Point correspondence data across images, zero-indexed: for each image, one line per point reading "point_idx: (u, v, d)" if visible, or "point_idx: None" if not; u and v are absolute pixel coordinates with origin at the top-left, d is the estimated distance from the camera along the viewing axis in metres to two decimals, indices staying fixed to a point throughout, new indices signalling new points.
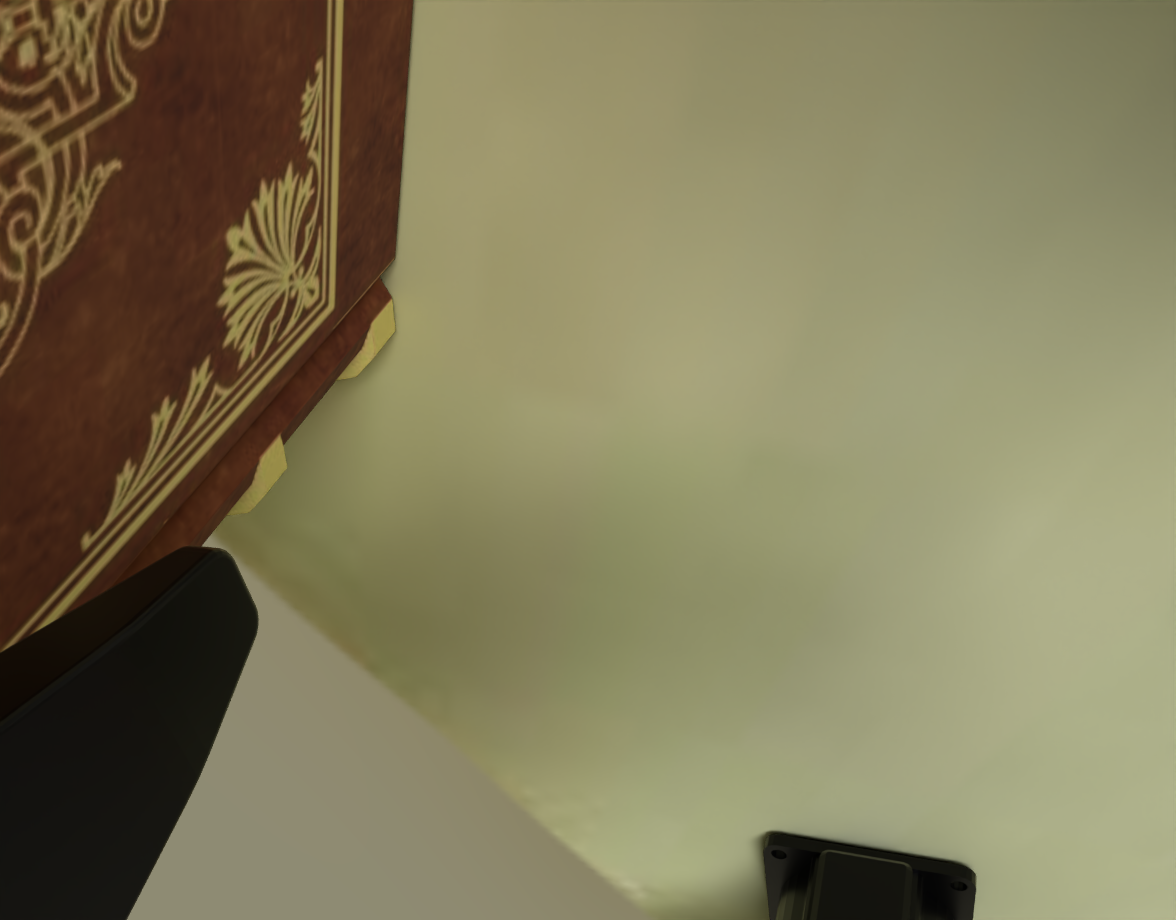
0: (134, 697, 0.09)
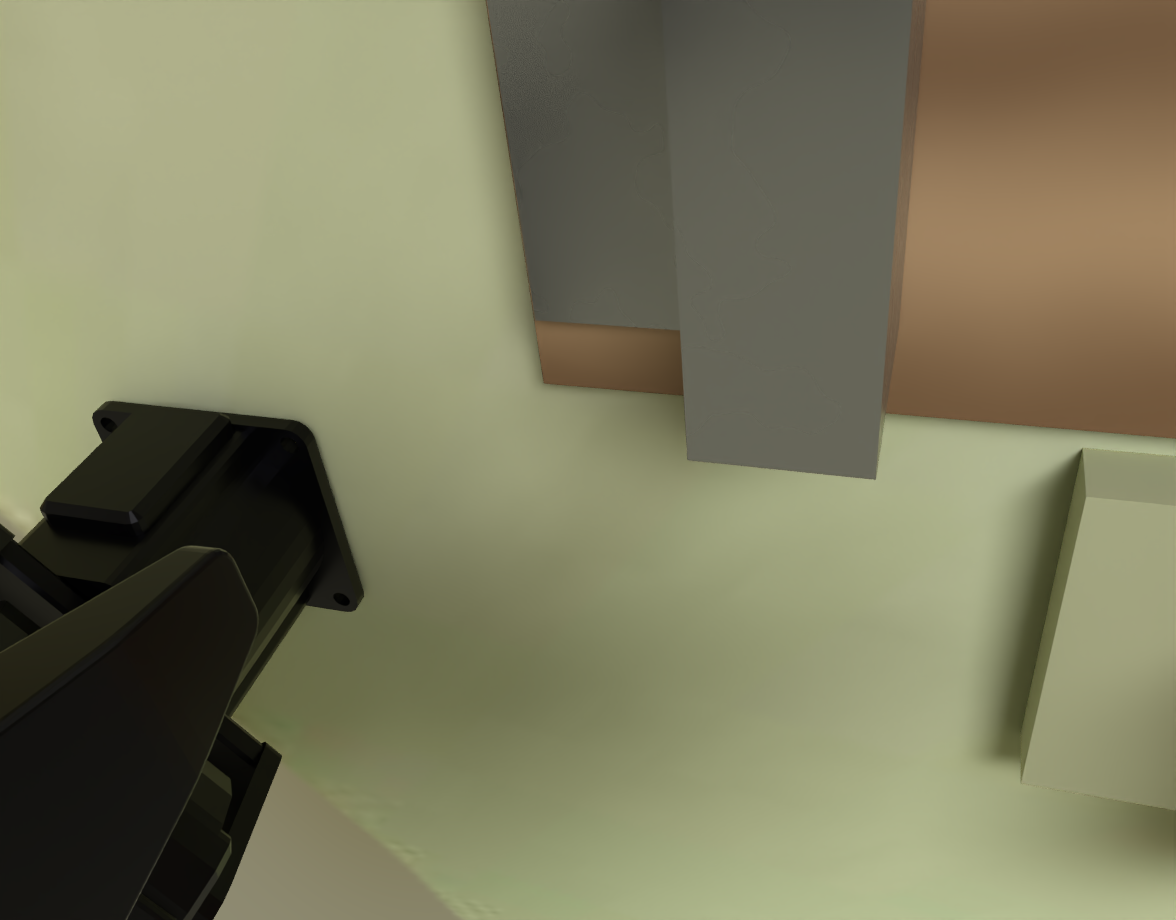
0: (134, 697, 0.09)
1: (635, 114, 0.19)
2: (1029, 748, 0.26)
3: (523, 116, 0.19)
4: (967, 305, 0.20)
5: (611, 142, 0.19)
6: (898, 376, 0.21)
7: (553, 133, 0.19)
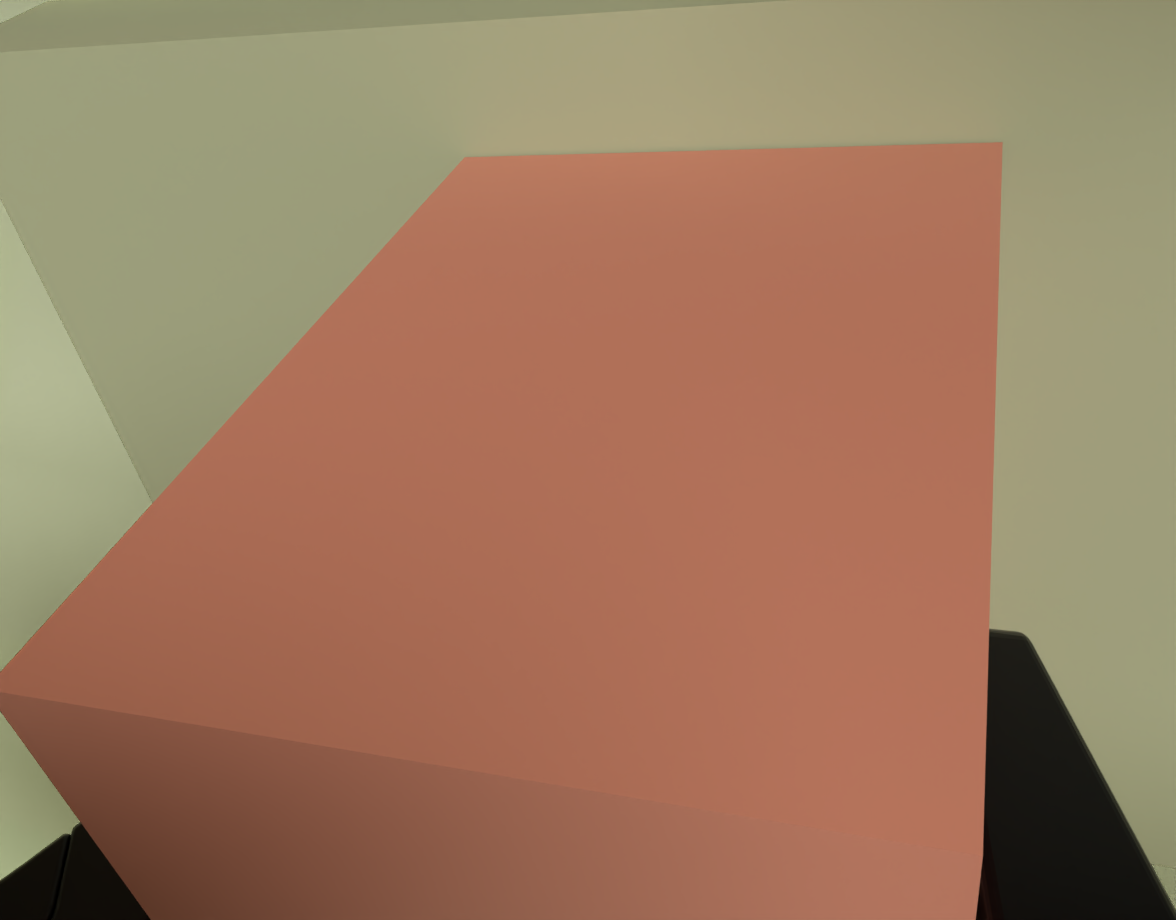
0: None
1: None
2: None
3: None
4: None
5: None
6: None
7: None
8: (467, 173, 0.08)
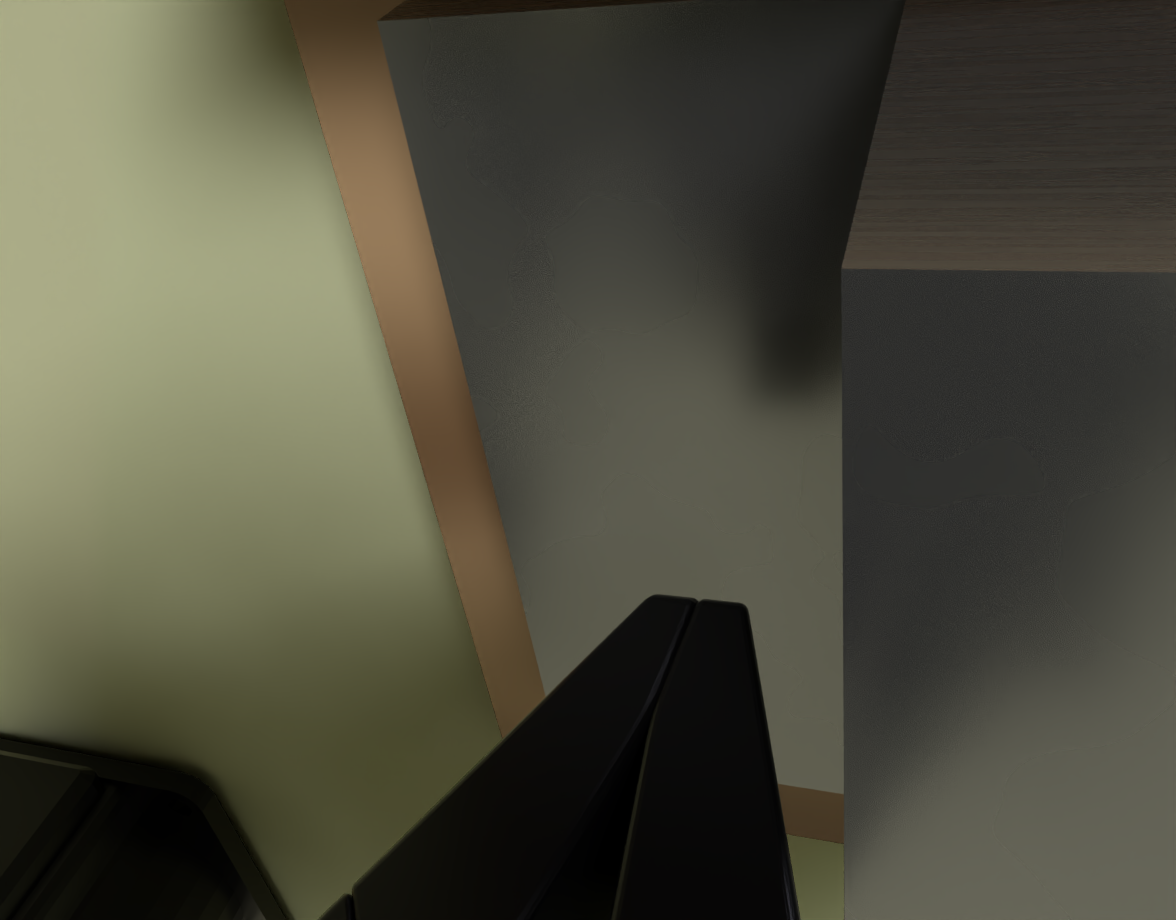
0: None
1: (722, 509, 0.11)
2: None
3: (527, 498, 0.11)
4: None
5: (680, 544, 0.11)
6: None
7: (579, 524, 0.11)
8: None
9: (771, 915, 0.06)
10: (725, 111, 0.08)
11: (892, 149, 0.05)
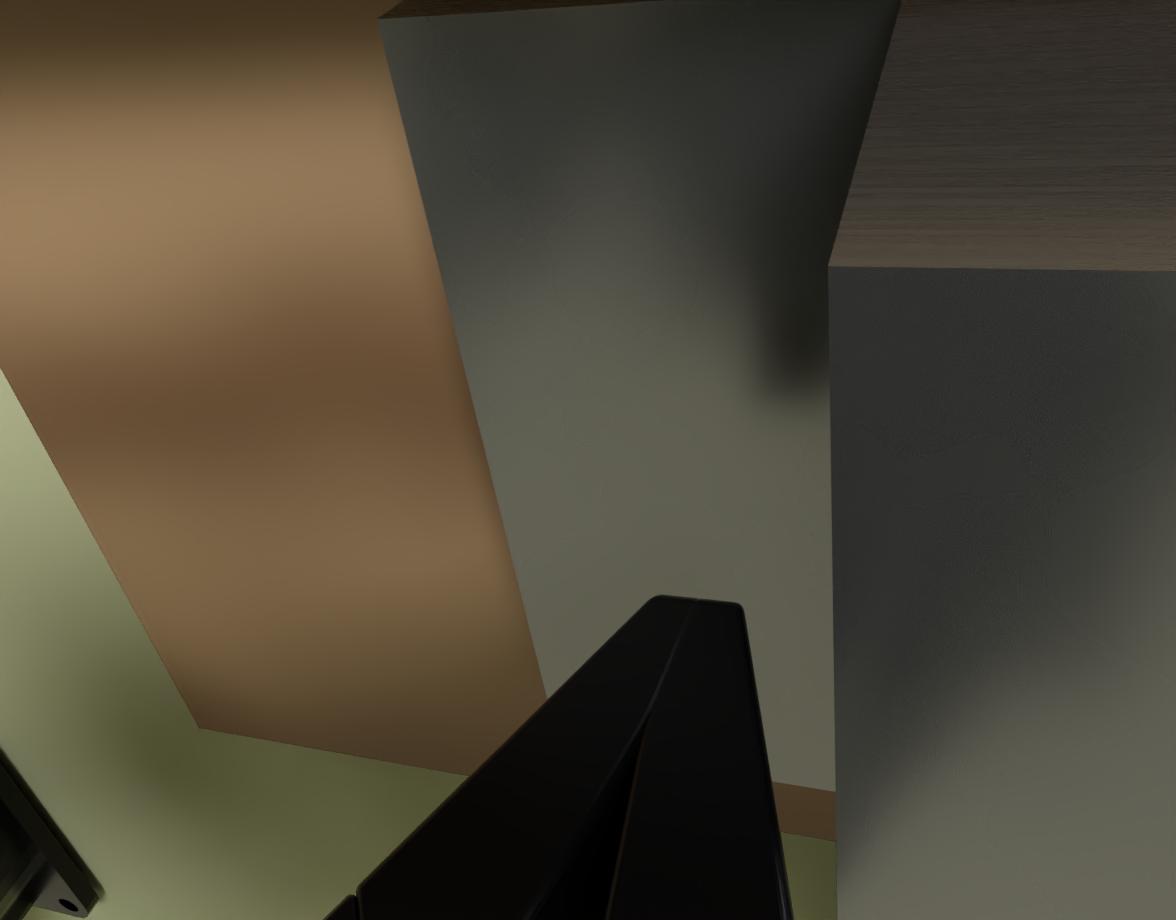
0: None
1: (721, 507, 0.11)
2: None
3: (528, 495, 0.11)
4: None
5: (679, 540, 0.11)
6: None
7: (579, 521, 0.11)
8: None
9: (765, 913, 0.06)
10: (722, 110, 0.08)
11: (883, 147, 0.05)
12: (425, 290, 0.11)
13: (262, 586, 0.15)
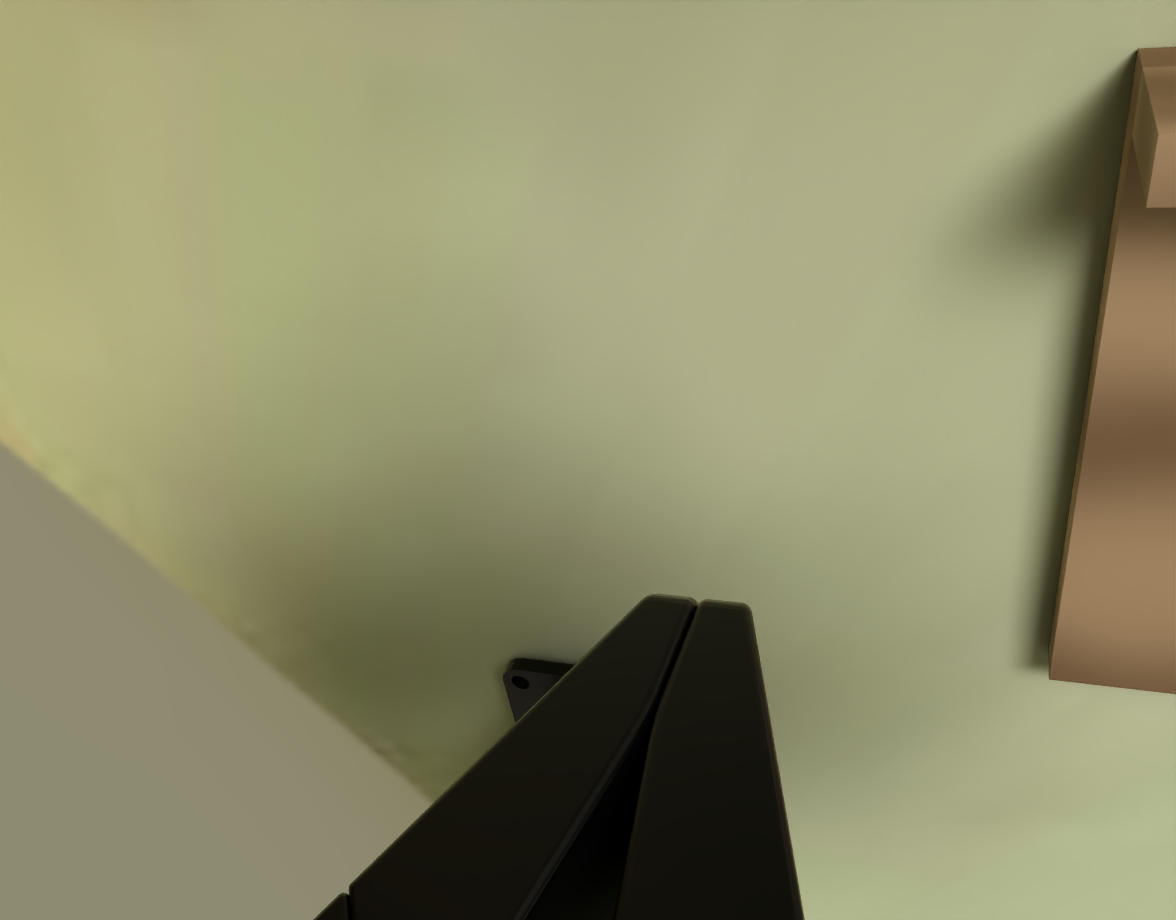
0: None
1: None
2: None
3: None
4: None
5: None
6: None
7: None
8: None
9: (775, 916, 0.06)
10: None
11: None
12: None
13: None
